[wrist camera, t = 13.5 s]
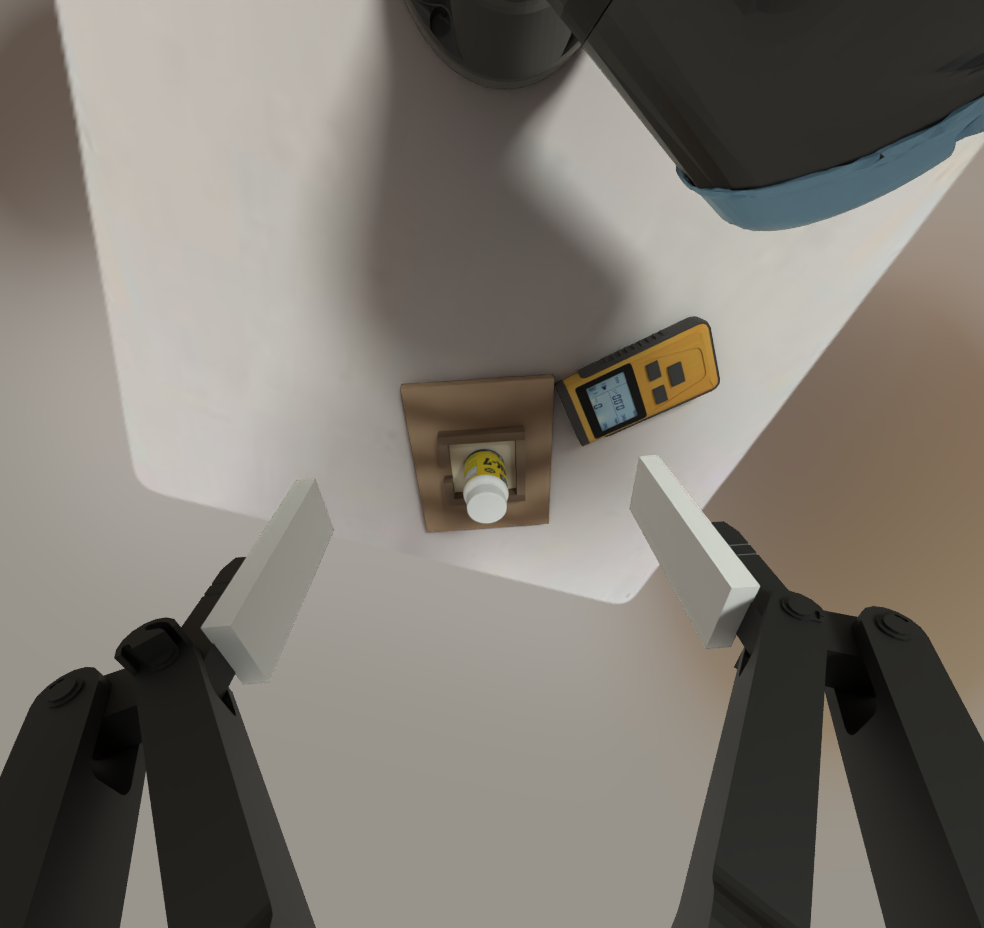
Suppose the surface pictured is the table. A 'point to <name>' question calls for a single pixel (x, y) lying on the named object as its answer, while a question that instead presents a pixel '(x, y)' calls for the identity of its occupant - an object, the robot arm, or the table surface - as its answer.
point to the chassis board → (481, 444)
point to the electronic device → (641, 380)
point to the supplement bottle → (485, 485)
